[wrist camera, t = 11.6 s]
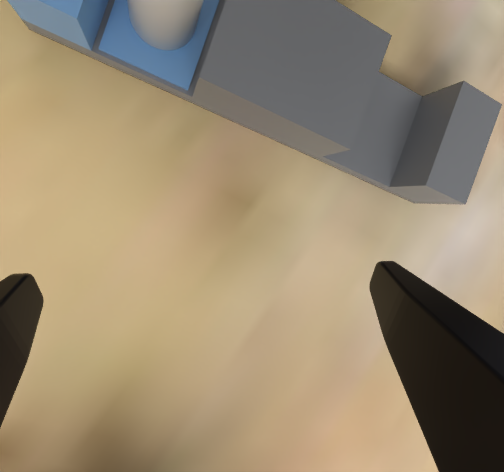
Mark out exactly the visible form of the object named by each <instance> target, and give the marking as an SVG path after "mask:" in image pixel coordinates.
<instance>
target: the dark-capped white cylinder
mask: <svg viewBox="0 0 504 472" xmlns="http://www.w3.org/2000/svg"><path fill="white" fill-rule="evenodd" d="M127 3H128V11H129V18H130V21H131V24H132V26H133V28H134V30H135V31H136V33H137V34H138V35H139V37H140V38H141V39H142V40H143V41H145V42H146V43H147V44H149V45H150V46H152V47H155V48H157V49H160V50H176V49H179V48H181V47H183V46H184V45H186V44H187V43H188V42H189V41H190V40H191V38H192V36H193V35H194V32H195V29H196V25H197V22H198V18H199V15H200V11H201V8H202V4H203V0H127Z"/></svg>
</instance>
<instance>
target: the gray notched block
mask: <svg viewBox="0 0 504 472" xmlns="http://www.w3.org/2000/svg"><path fill="white" fill-rule="evenodd" d="M7 1H8V2H9V3H10V5H11V6H12V7H13V9H14V10H15V11H16V12H17V14H18V15H19V16H20V18H21V19H22V20H23V22H24V23H25V24H26V26H27V27H28V28H29V29H30V30H32V31H34V32H36V33H38V34H41V35H43V36H45V37H47V38H49V39H52V40H54V41H56V42H58V43H61V44H63V45H65V46H67V47H69V48H72V49H74V50H76V51H78V52H80V53H83V54H85V55H87V56H89V57H92V58H94V59H96V60H98V61H100V62H103V63H105V64H107V65H109V66H111V67H114V68H116V69H118V70H120V71H123V72H125V73H127V74H129V75H131V76H134V77H136V78H138V79H140V80H142V81H145V82H147V83H149V84H151V85H154V86H156V87H158V88H160V89H162V90H165V91H167V92H169V93H171V94H173V95H176V96H178V97H180V98H182V99H185V100H187V101H189V102H191V103H193V104H196V105H198V106H200V107H202V108H204V109H207V110H209V111H211V112H213V113H216V114H218V115H220V116H222V117H224V118H227V119H229V120H231V121H233V122H235V123H238V124H240V125H242V126H244V127H247V128H249V129H251V130H253V131H255V132H258V133H260V134H262V135H264V136H266V137H269V138H271V139H273V140H275V141H278V142H280V143H282V144H284V145H286V146H289V147H291V148H293V149H295V150H298V151H300V152H302V153H304V154H306V155H309V156H311V157H313V158H315V159H317V160H320V161H322V162H324V163H326V164H329V165H331V166H333V167H335V168H337V169H340V170H342V171H344V172H346V173H348V174H351V175H353V176H355V177H357V178H360V179H362V180H364V181H366V182H368V183H371V184H373V185H375V186H377V187H379V188H382V189H384V190H386V191H388V192H391V193H393V194H395V195H397V196H399V197H402V198H404V199H406V200H408V201H410V202H413V203H427V204H466V202H467V199H468V196H469V193H470V191H471V188H472V185H473V183H474V180H475V177H476V174H477V172H478V169H479V166H480V163H481V161H482V158H483V155H484V152H485V150H486V147H487V144H488V141H489V139H490V136H491V133H492V130H493V128H494V125H495V122H496V120H497V117H498V114H499V111H500V109H501V106H502V104H500V103H499V102H497V101H495V100H494V99H492V98H491V97H489V96H487V95H486V94H484V93H483V92H481V91H479V90H478V89H476V88H475V87H473V86H471V85H470V84H468V83H467V82H465V81H462V82H459V83H457V84H454V85H451V86H449V87H446V88H443V89H441V90H438V91H436V92H433V93H430V94H428V95H425V96H420V95H418V94H417V93H415V92H413V91H412V90H410V89H408V88H406V87H405V86H403V85H401V84H399V83H398V82H396V81H394V80H393V79H391V78H389V77H387V76H386V75H384V74H382V73H380V72H379V69H380V66H381V64H382V61H383V58H384V55H385V53H386V50H387V47H388V44H389V41H390V39H391V36H392V35H390V34H388V33H387V32H385V31H384V30H382V29H380V28H379V27H377V26H376V25H374V24H372V23H371V22H369V21H368V20H366V19H364V18H363V17H361V16H360V15H358V14H356V13H355V12H353V11H352V10H350V9H348V8H347V7H345V6H344V5H342V4H340V3H339V2H337V1H336V0H203V4H202V8H201V11H200V15H199V18H198V22H197V25H196V29H195V32H194V35H193V36H192V38H191V40H190V41H189V42H188V43H187V44H186V45H184V46H183V47H181V48H179V49H176V50H160V49H157V48H155V47H152V46H150V45H149V44H147V43H146V42H145V41H143V40H142V39H141V38H140V37H139V35H138V34H137V33H136V31H135V30H134V28H133V26H132V24H131V21H130V18H129V11H128V3H127V0H7Z"/></svg>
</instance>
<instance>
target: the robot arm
mask: <svg viewBox="0 0 504 472" xmlns="http://www.w3.org/2000/svg"><path fill="white" fill-rule="evenodd" d="M370 292H371V296H372V299H373V303H374V306H375V310H376V313H377V317H378V320H379V324H380V327H381V330H382V334H383V337H384V340H385V342H386V345H387V348H388V350H389V352H390V355H391V357H392V360H393V362H394V365H395V367H396V369H397V372H398V374H399V377H400V379H401V381H402V384H403V386H404V389H405V391H406V393H407V396H408V398H409V401H410V403H411V405H412V408H413V410H414V413H415V415H416V418H417V420H418V422H419V425H420V427H421V430H422V432H423V434H424V437H425V439H426V442H427V444H428V446H429V449H430V451H431V454H432V456H433V458H434V461H435V463H436V466H437V468H438V470H439V472H504V334H503V333H502V332H500V331H499V330H497V329H496V328H494V327H493V326H491V325H490V324H488V323H487V322H485V321H484V320H482V319H480V318H479V317H477V316H476V315H474V314H473V313H471V312H470V311H468V310H467V309H465V308H464V307H462V306H461V305H459V304H458V303H456V302H455V301H453V300H452V299H450V298H449V297H447V296H446V295H444V294H443V293H441V292H440V291H438V290H437V289H435V288H433V287H432V286H430V285H429V284H427V283H426V282H424V281H423V280H421V279H420V278H418V277H417V276H415V275H414V274H412V273H411V272H409V271H408V270H406V269H405V268H403V267H402V266H400V265H399V264H397V263H396V262H394V261H380V262H378V263H377V264H376V266H375V269H374V272H373V275H372V278H371V281H370ZM42 307H43V296H42V293H41V291H40V289H39V287H38V285H37V283H36V281H35V279H34V277H33V276H32V275H31V274H28V273H23V274H12V275H10V276H8V277H7V278H5V279H3V280H2V281H0V427H1V425H2V422H3V420H4V417H5V415H6V412H7V410H8V407H9V405H10V403H11V400H12V398H13V395H14V393H15V390H16V388H17V385H18V383H19V380H20V378H21V375H22V373H23V371H24V368H25V365H26V363H27V360H28V357H29V354H30V350H31V347H32V343H33V339H34V336H35V332H36V329H37V325H38V322H39V318H40V314H41V311H42Z"/></svg>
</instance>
